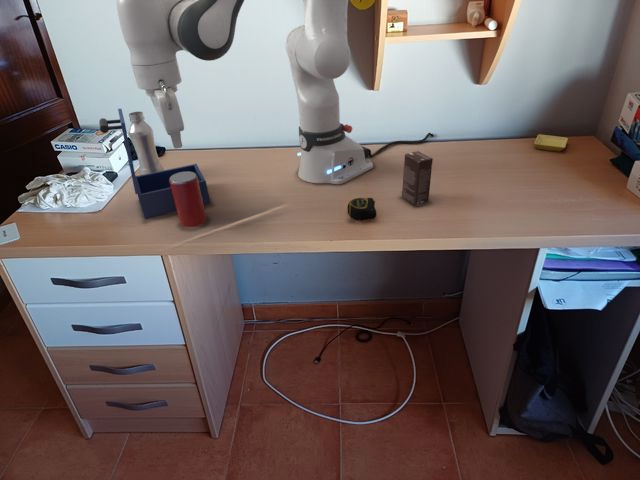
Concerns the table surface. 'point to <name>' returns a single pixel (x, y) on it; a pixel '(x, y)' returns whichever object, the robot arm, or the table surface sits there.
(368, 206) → the tape measure
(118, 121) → the lid
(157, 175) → the box
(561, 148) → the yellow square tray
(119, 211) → the table surface
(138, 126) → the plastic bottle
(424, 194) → the box
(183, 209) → the can
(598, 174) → the table surface
